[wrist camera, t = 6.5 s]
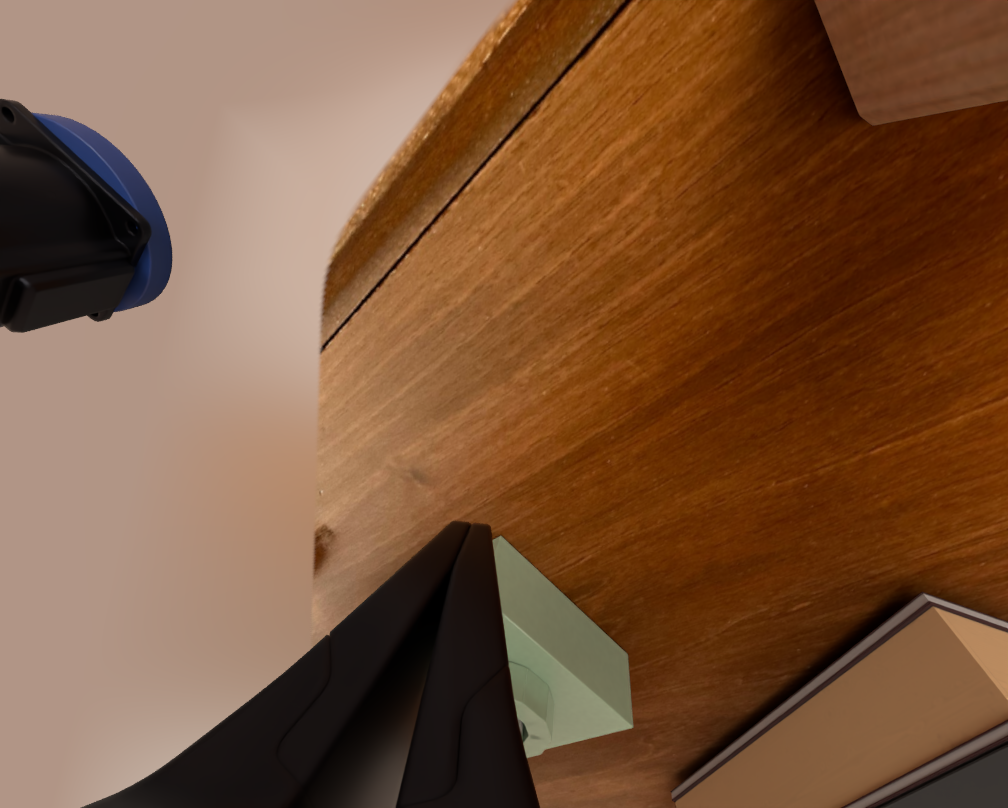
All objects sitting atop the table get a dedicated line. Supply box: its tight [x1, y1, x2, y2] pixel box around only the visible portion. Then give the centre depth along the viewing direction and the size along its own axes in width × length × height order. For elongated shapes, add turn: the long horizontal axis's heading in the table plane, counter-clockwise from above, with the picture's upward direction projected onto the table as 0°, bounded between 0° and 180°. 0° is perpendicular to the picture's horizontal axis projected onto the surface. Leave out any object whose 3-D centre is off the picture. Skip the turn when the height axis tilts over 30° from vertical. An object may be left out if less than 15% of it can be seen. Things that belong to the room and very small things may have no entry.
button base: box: [492, 536, 633, 758], centre depth 25 cm, size 12×10×6 cm
